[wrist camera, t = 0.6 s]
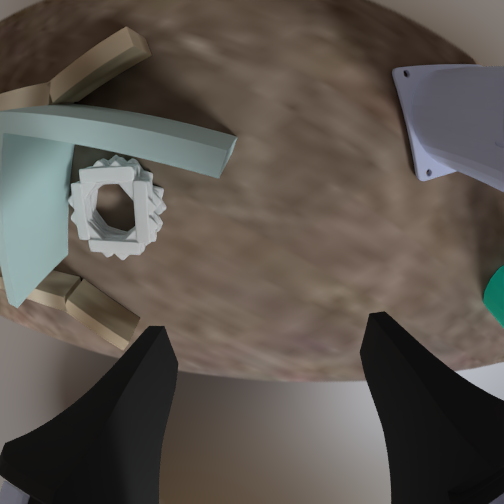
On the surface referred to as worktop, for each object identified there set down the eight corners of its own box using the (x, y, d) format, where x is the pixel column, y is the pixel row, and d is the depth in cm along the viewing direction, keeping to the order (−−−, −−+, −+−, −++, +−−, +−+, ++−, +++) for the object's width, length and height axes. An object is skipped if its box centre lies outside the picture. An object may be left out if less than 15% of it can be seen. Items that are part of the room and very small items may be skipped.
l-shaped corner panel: (60, 251, 19) (9, 303, 13) (73, 103, 14) (-3, 111, 7) (191, 293, 21) (171, 369, 14) (237, 136, 16) (227, 150, 9)
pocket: (156, 37, 12) (139, 25, 10) (141, 328, 23) (131, 352, 20) (-28, 80, 11) (-48, 83, 8) (-10, 282, 21) (-24, 296, 18)
